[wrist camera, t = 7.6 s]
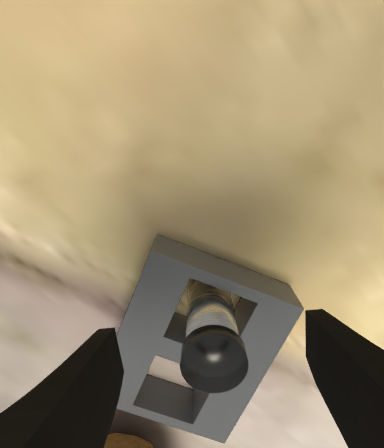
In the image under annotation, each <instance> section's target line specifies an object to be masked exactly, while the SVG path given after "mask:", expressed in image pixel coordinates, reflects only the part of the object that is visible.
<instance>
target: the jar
mask: <svg viewBox="0 0 384 448" xmlns="http://www.w3.org/2000/svg"><path fill="white" fill-rule="evenodd" d="M248 365H249V364H248V358H247V353H246V349H245V345H244V342H243V340H242V338H241V337H240V336H239V334H238V329H237V324H236V319H235V314H234V309H233V304H232V299H231V294H230V293H229V292H226V291H224V290H221V289H218V288H216V287H213V286H210V285H208V284H205V283H202V282H200V281H197V280H195V281H194V282H193V283H192V284H191V286H190V288H189V291H188V307H187V324H186V338H185V340H184V342H183V344H182V348H181V360H180V369H181V373H182V376H183V377H184V379H185V380H186V382H187V383H188V384H189V385H191V386H192V387H193V388H195V389H197V390H199V391H202V392H206V393H222V392H226V391H229V390H231V389H233V388H235V387H237V386H238V385H239V384H240V383H241V382H242V381H243V380H244V378H245V377H246V375H247V372H248Z"/></svg>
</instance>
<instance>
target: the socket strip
mask: <svg viewBox="0 0 384 448" xmlns="http://www.w3.org/2000/svg"><path fill="white" fill-rule="evenodd" d="M190 278H192V279H194V280H197V281H200V282H202V283H205V284H208V285H210V286H213V287H216V288H218V289H221V290H224V291H226V292H229V293H232V294H234V295H237V296H240V297H241V299H240V301H239V303H238V305H237V306H236V308H235V310H234V314H235V319H236V324H237V329H238V334H239V336H240V337H241V338H242V340H243V342H244V345H245V349H246V353H247V358H248V364H249V365H248V372H247V375H246V377H245V378H244V380H243V381H242V382H241V383H240V384H239V385H238V386H237V387H235V388H233V389H231V390H229V391H226V392H222V393H206V392H202V391H199V390H197V389H195V388H194V390H191V389H189V388H186V387H183V386H180V385H177V384H174V383H171V382H168V381H165V380H162V379H159V378H156V377H153V376H150V375H147V372H148V370H149V368H150V365H151V363H152V361H153V359H154V356H155V355H157V356H160V357H163V358H165V359H168V360H171V361H174V362H177V363H180V360H181V348H182V344H183V342H184V340H185V338H186V324H187V317H184V316H181V315H179V314H176V313H174V312H175V310H176V308H177V305H178V303H179V301H180V299H181V296H182V294H183V292H184V290H185V288H186V285H187V283H188V281H189V279H190ZM303 310H304V308H303V306H302V305H301V303H300V301H299V300H298V298H297V296H296V295H295V293H294V291H293V290H292V288H291V287H290V285H288V284H285V283H283V282H280V281H278V280H275V279H272V278H270V277H267V276H265V275H262V274H259V273H257V272H254V271H252V270H249V269H247V268H244V267H241V266H239V265H236V264H234V263H231V262H228V261H226V260H223V259H221V258H218V257H216V256H213V255H210V254H208V253H205V252H203V251H200V250H197V249H195V248H192V247H190V246H187V245H185V244H182V243H179V242H177V241H174V240H172V239H169V238H166V237H164V236H161V235H159V234H157V236H156V238H155V241H154V243H153V246H152V248H151V251H150V254H149V256H148V259H147V261H146V264H145V266H144V269H143V271H142V274H141V276H140V279H139V281H138V284H137V286H136V289H135V291H134V294H133V296H132V299H131V301H130V304H129V306H128V309H127V312H126V314H125V317H124V319H123V322H122V324H121V327H120V329H119V332H118V334H117V341H118V345H119V350H120V355H121V359H122V364H123V368H124V376H123V381H122V387H121V392H120V397H119V401H118V404H117V407H116V409H119V410H122V411H125V412H128V413H132V414H135V415H138V416H141V417H144V418H147V419H150V420H153V421H156V422H159V423H162V424H166V425H169V426H172V427H175V428H178V429H181V430H184V431H187V432H190V433H193V434H197V435H200V436H203V437H206V438H209V439H212V440H215V441H218V442H221V443H225V442H226V440H227V438H228V436H229V435H230V433H231V431H232V430H233V428H234V426H235V425H236V423H237V421H238V420H239V418H240V416H241V414H242V413H243V411H244V409H245V408H246V406H247V404H248V403H249V401H250V399H251V398H252V396H253V394H254V393H255V391H256V389H257V387H258V386H259V384H260V382H261V381H262V379H263V377H264V376H265V374H266V372H267V371H268V369H269V367H270V365H271V364H272V362H273V360H274V359H275V357H276V355H277V354H278V352H279V350H280V349H281V347H282V345H283V343H284V342H285V340H286V338H287V337H288V335H289V333H290V332H291V330H292V328H293V327H294V325H295V323H296V321H297V320H298V318H299V316H300V315H301V313H302V311H303Z"/></svg>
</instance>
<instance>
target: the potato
mask: <svg viewBox="0 0 384 448" xmlns="http://www.w3.org/2000/svg"><path fill="white" fill-rule="evenodd" d="M104 448H154V447H153V446H152V444H151V443H150V442H148V441H146V440H144V439H142V438H139V437H137V436H135V435H129V434H122V433H112V434H108V436H107V439H106V442H105V445H104Z"/></svg>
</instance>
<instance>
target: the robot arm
mask: <svg viewBox="0 0 384 448" xmlns="http://www.w3.org/2000/svg"><path fill="white" fill-rule="evenodd" d="M306 358H307V361H308V364H309V367H310V369H311V372H312V375H313V377H314V380H315V383H316V385H317V387H318V389H319V391H320V393H321V395H322V397H323V399H324V401H325V403H326V405H327V407H328V409H329V411H330V413H331V415H332V416H333V418H334V420H335V422H336V424H337V426H338V428H339V430H340V432H341V434H342V436H343V438H344V440H345V442H346V444H347V446H348V448H384V350H383V349H381V348H380V347H378V346H376V345H375V344H373V343H372V342H370V341H369V340H367V339H366V338H364V337H363V336H361V335H360V334H358V333H357V332H355V331H354V330H352V329H351V328H349V327H348V326H346V325H345V324H343V323H342V322H341V321H339V320H338V319H336V318H335V317H333V316H332V315H331V314H329V313H328V312H326V311H325V310H323V309H317V310H306ZM123 376H124V368H123V364H122V359H121V355H120V350H119V345H118V341H117V336H116V332H115V328H106V329H99V330H97V331H96V332H95V333H94V334H93V335H92V336H91V337H90V338H89V339H88V340H86V341H85V342H84V343H83V344H82V345H81V346H80V347H79V348H78V349H77V350H76V351H75V352H74V353H73V354H72V355H71V356H70V357H69V358H67V359H66V360H65V361H64V362H63V363H62V364H61V365H60V366H59V367H58V368H57V369H55V370H54V371H53V372H52V373H51V374H50V375H49V376H47V377H46V378H45V379H44V380H43V381H42V382H40V383H39V384H38V385H37V386H36V387H35V388H33V389H32V390H31V391H30V392H28V393H27V394H26V395H25V396H23V397H22V398H21V399H19V400H18V401H17V402H15V403H14V404H13V405H11V406H10V407H9V408H7V409H6V410H4V411H3V412H2V413H0V448H104V445H105V442H106V439H107V436H108V433H109V430H110V427H111V423H112V420H113V417H114V414H115V411H116V407H117V404H118V401H119V397H120V392H121V387H122V381H123Z"/></svg>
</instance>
